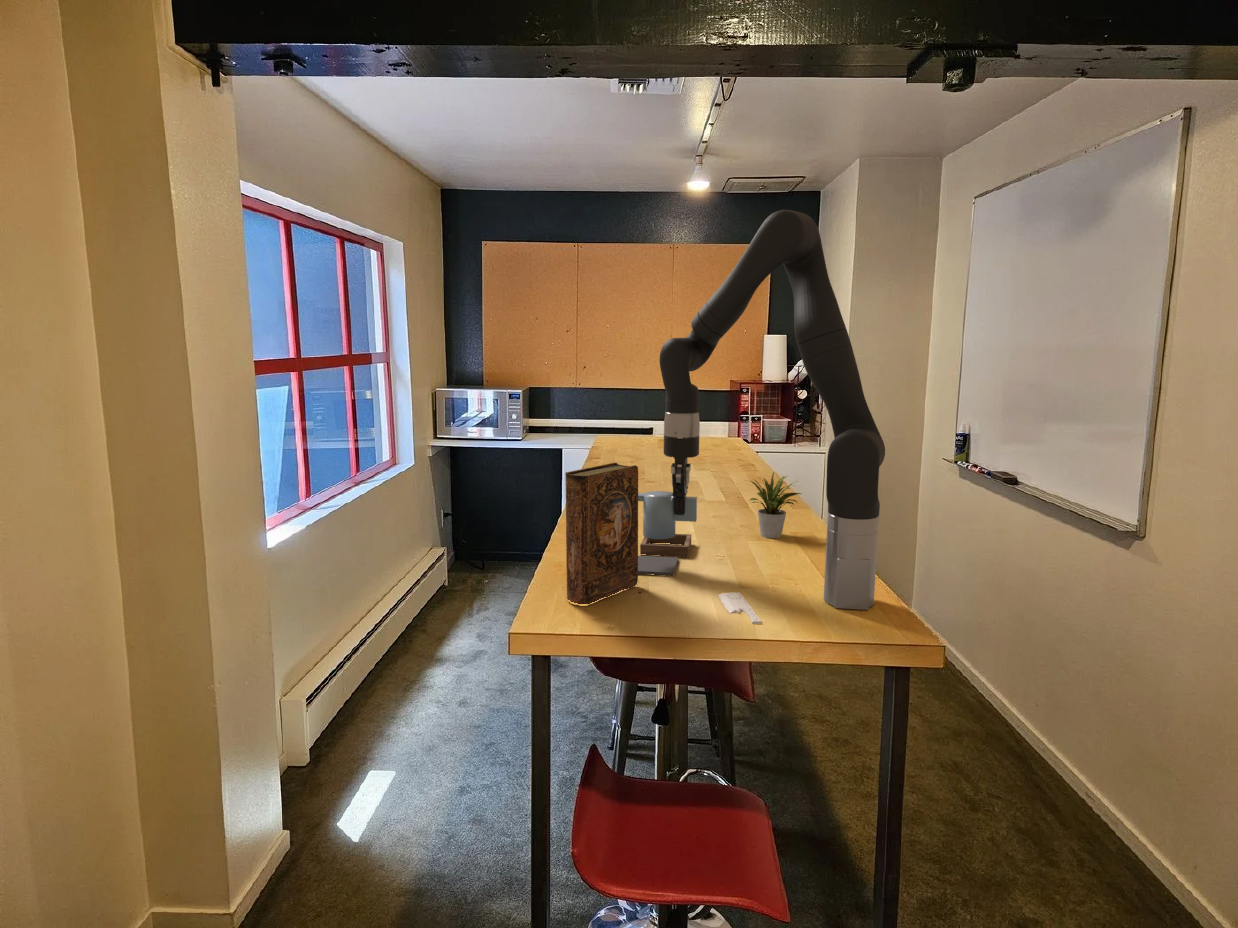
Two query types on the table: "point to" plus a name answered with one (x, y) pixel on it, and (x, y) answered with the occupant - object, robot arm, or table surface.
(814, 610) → the table surface
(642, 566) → the mat
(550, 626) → the table surface
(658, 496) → the jug
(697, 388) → the robot arm
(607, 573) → the book
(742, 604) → the white plastic strip tool
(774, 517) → the house plant
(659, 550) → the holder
